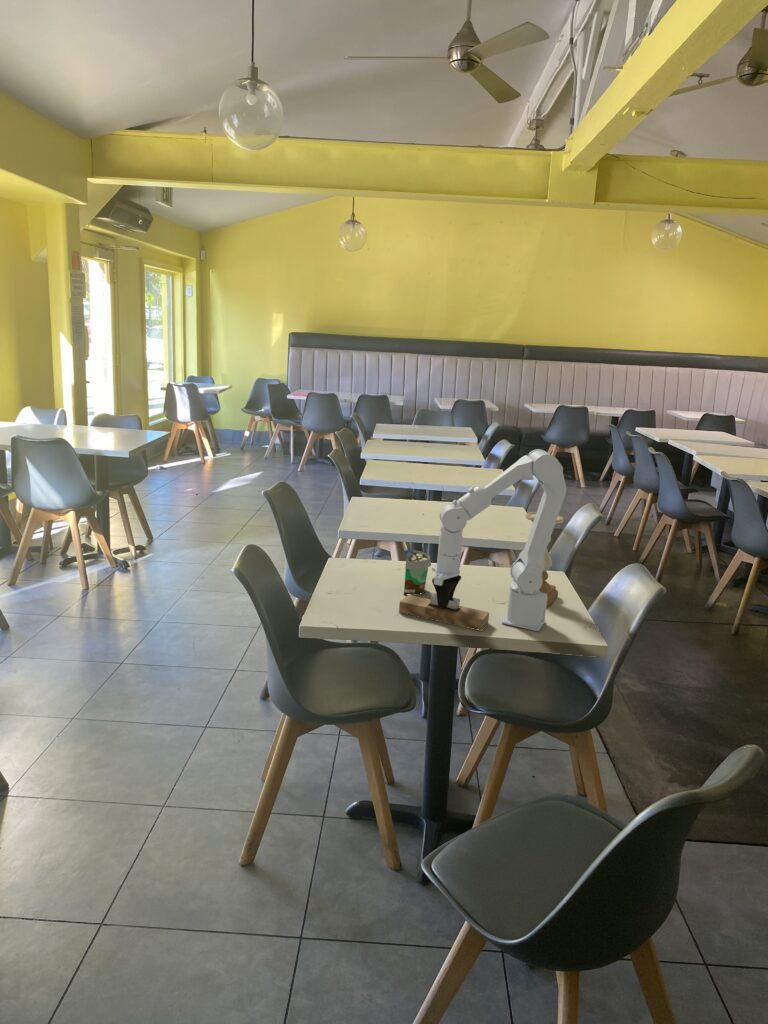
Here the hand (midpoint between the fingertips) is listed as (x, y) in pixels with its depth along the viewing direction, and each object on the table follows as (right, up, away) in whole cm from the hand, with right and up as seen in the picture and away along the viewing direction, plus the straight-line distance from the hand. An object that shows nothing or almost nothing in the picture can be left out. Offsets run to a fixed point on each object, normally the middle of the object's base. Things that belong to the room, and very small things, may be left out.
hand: (444, 604), depth 184 cm
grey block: (0, -4, +1) cm, 4 cm away
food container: (-6, +1, +20) cm, 21 cm away
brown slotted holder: (0, -4, +1) cm, 4 cm away
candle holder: (+27, -1, +21) cm, 34 cm away
